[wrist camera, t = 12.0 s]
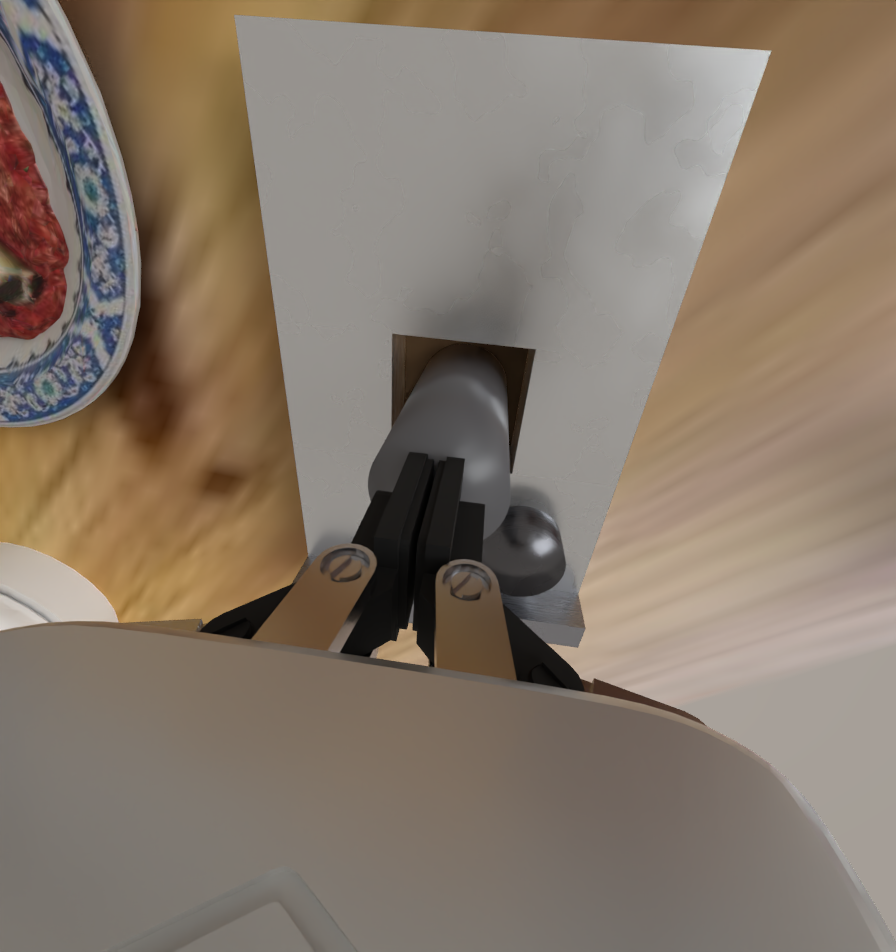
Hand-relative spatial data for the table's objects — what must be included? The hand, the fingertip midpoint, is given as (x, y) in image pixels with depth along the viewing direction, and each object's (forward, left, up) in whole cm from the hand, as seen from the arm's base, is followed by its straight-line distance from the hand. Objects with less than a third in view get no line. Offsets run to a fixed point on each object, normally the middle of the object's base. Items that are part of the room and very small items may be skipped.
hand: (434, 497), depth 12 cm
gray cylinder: (0, 0, -10) cm, 10 cm away
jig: (0, 0, -10) cm, 10 cm away
